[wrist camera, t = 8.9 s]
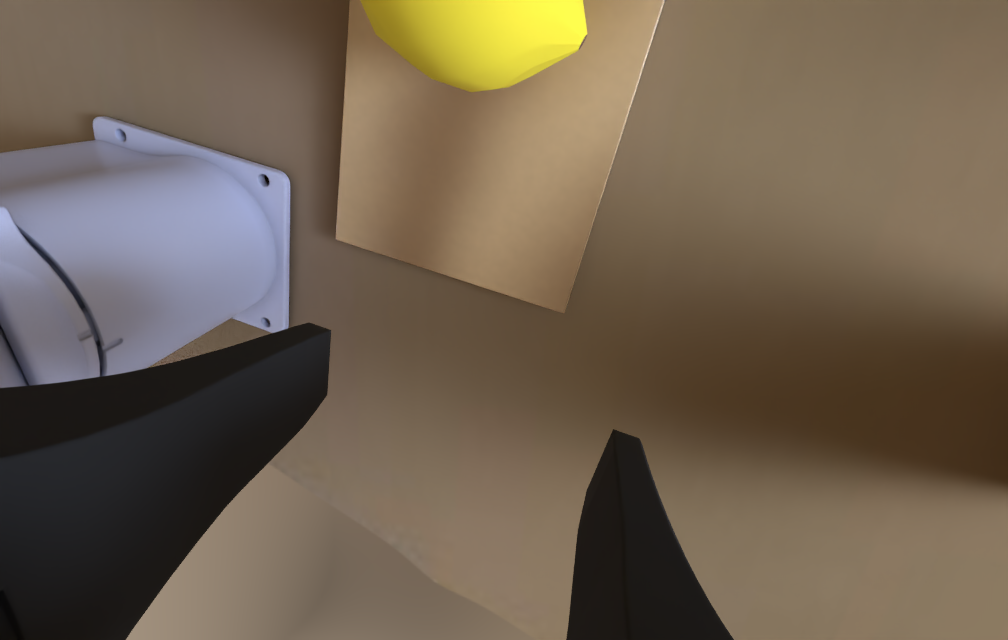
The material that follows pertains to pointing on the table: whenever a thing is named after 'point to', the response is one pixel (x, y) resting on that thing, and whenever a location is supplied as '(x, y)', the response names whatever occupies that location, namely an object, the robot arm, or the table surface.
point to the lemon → (479, 37)
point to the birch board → (488, 157)
